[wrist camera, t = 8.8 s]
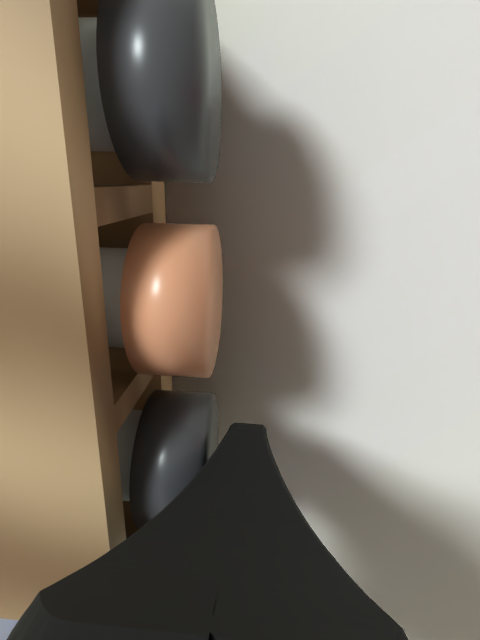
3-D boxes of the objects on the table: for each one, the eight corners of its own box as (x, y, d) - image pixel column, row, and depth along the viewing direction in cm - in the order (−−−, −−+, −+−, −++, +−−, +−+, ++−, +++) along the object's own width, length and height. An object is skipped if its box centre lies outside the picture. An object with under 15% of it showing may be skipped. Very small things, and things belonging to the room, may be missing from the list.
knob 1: (221, 181, 11) (194, 183, 7) (-7, 177, 11) (-131, 176, 8) (221, 17, 9) (190, -74, 6) (-33, 19, 10) (-194, -62, 7)
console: (175, 469, 15) (118, 631, 10) (59, 461, 16) (-58, 612, 10) (156, -20, 10) (23, -235, 5) (-12, -16, 11) (-307, -215, 5)
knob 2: (217, 470, 14) (197, 567, 10) (38, 456, 14) (-39, 544, 11) (218, 371, 12) (195, 443, 9) (21, 360, 13) (-71, 424, 10)
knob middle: (222, 343, 12) (200, 407, 9) (21, 333, 13) (-74, 390, 9) (223, 217, 11) (198, 235, 8) (1, 211, 11) (-116, 226, 8)
